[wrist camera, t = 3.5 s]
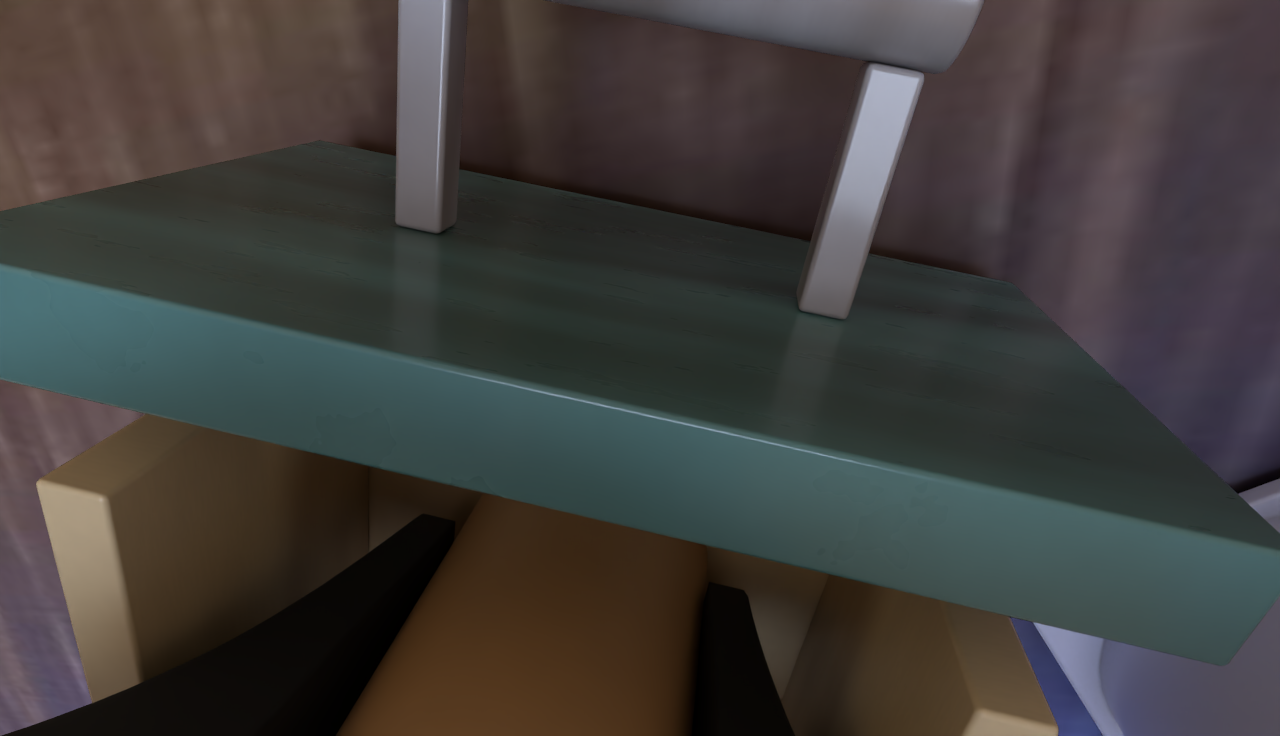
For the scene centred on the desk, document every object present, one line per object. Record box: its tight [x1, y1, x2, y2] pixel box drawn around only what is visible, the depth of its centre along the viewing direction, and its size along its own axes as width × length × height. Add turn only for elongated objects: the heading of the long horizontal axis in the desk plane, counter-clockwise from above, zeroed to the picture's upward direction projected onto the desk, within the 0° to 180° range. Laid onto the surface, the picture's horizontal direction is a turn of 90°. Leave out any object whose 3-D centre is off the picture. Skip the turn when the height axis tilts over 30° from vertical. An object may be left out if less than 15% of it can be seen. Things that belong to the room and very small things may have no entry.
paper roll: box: [336, 493, 708, 736], centre depth 10 cm, size 5×5×7 cm
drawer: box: [0, 0, 1280, 736], centre depth 11 cm, size 18×12×7 cm
